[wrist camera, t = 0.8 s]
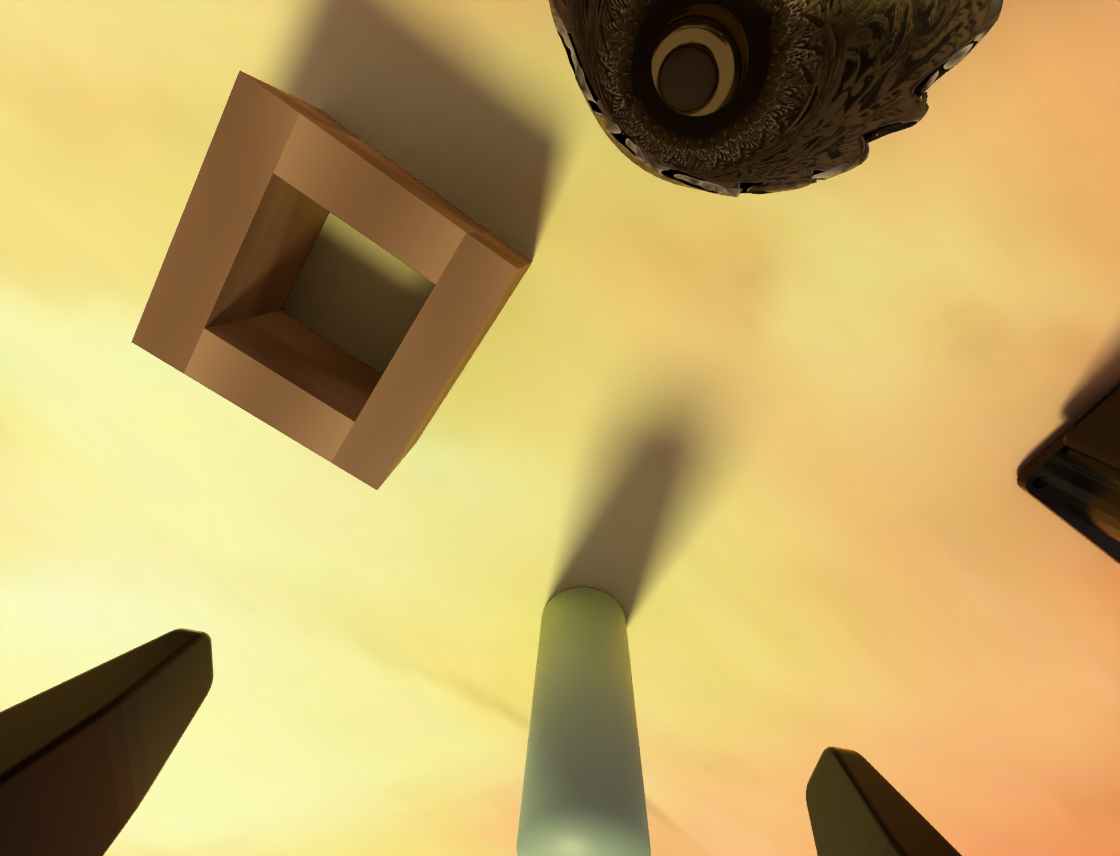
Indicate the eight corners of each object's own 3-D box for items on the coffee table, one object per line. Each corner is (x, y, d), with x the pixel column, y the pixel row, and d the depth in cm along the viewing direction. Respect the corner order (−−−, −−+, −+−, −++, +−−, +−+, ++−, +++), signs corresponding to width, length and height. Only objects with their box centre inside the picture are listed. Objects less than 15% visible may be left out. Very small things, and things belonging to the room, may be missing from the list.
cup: (524, 2, 15) (466, -227, 8) (774, -136, 14) (996, -569, 6) (617, 251, 17) (642, 261, 10) (841, 151, 16) (1065, 76, 9)
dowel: (642, 615, 22) (678, 845, 14) (592, 668, 23) (597, 911, 15) (573, 572, 22) (566, 785, 13) (525, 629, 23) (491, 858, 14)
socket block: (531, 262, 18) (517, 268, 14) (415, 442, 20) (377, 489, 16) (318, 109, 16) (239, 70, 13) (221, 321, 19) (131, 342, 15)
